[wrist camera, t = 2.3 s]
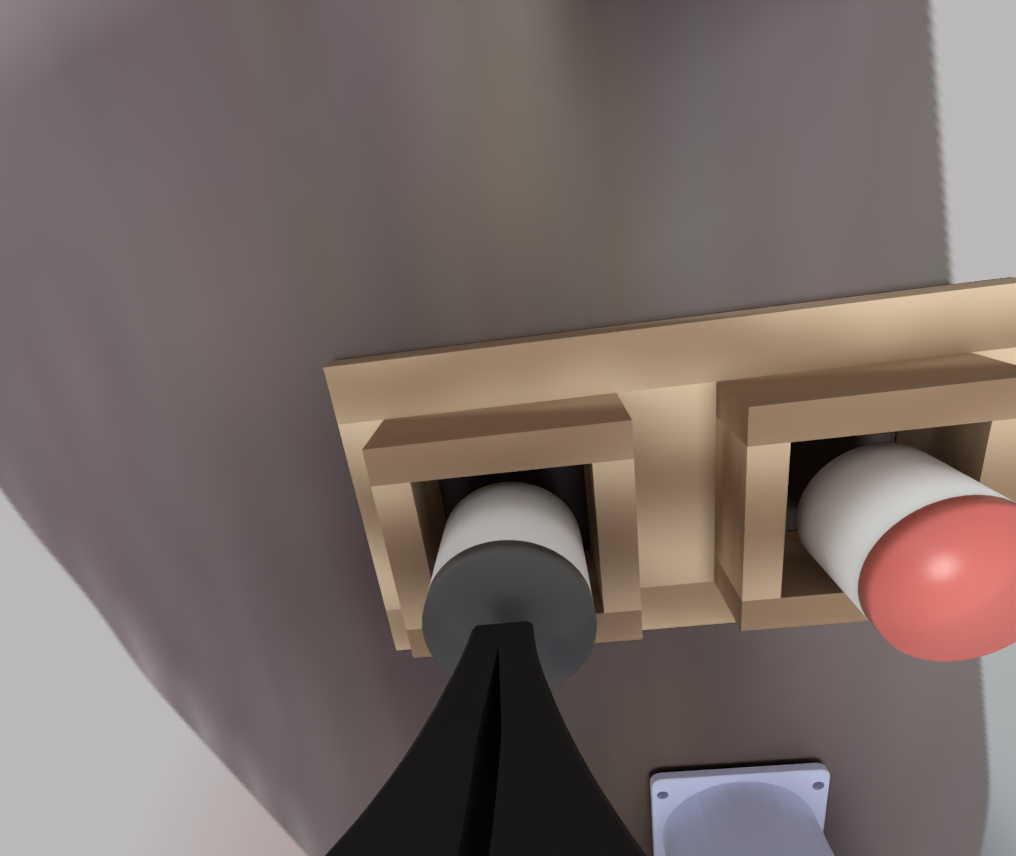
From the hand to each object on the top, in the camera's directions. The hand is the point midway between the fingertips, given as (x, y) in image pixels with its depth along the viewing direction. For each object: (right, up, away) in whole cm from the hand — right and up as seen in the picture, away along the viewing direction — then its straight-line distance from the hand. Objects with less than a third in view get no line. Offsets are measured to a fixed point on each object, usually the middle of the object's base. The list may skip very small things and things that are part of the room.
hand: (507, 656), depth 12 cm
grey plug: (0, +2, +4) cm, 5 cm away
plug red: (+11, +3, +4) cm, 12 cm away
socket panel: (+6, +3, +7) cm, 10 cm away
